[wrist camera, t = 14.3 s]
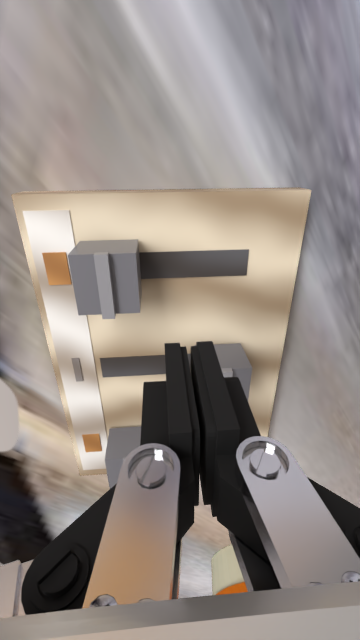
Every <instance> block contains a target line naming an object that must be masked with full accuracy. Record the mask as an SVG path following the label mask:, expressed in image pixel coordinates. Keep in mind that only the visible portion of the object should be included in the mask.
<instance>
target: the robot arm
mask: <svg viewBox="0 0 360 640" xmlns="http://www.w3.org/2000/svg"><path fill="white" fill-rule="evenodd" d="M164 345H165V367H166V381H153V382H144V384H143V402H142V421H141V440H140V446H139V447H137V448H136V449H134V450H132V451H131V452H130V453H129V454H128V455H127V457H126V458H125V460H124V462H123V464H122V467H121V470H120V474H119V477H118V481H117V483H116V484H115V485H114V486H113V487H112V488H111V489H110V490H109V491H108V492H106V493H105V494H104V495H103V496H102V497H101V498H100V499H99V500H98V501H96V502H95V503H94V504H93V505H92V506H91V507H90V508H89V509H88V510H86V511H85V512H84V513H83V514H82V515H81V516H80V517H79V518H78V519H76V520H75V521H74V522H73V523H72V524H71V525H70V526H69V527H68V528H66V529H65V530H64V531H63V532H62V533H61V534H60V535H59V536H58V537H56V538H55V539H54V540H53V541H52V542H51V543H50V544H49V545H48V546H46V547H45V548H44V549H43V550H42V551H41V552H40V553H39V554H38V556H37V557H36V558H35V559H34V560H31V561H28V562H25V563H22V564H21V563H20V561H19V560H17V561H14V562H11V563H8V564H5V565H2V566H0V640H360V508H358V507H357V506H355V505H353V504H351V503H350V502H348V501H346V500H345V499H343V498H341V497H340V496H338V495H336V494H335V493H333V492H331V491H330V490H328V489H326V488H325V487H323V486H321V485H320V484H318V483H316V482H314V481H313V480H311V479H309V478H308V477H307V476H306V475H305V473H304V472H303V470H302V469H301V467H300V466H299V464H298V462H297V461H296V459H295V458H294V456H293V455H292V453H291V452H290V451H289V450H288V448H287V447H286V446H284V445H283V444H282V443H280V442H279V441H277V440H274V439H272V438H270V437H264V436H261V435H260V432H259V429H258V427H257V424H256V421H255V419H254V416H253V414H252V411H251V408H250V406H249V403H248V401H247V398H246V395H245V393H244V390H243V388H242V385H241V382H240V380H239V378H238V377H224V376H223V373H222V370H221V367H220V364H219V360H218V357H217V354H216V351H215V348H214V345H213V342H212V341H202V342H196V346H191V359H190V366H189V360H188V354H187V348H186V346H184V347H180V343H164ZM199 474H200V481H201V488H202V495H203V502H204V505H210V504H211V510H212V517H216V516H217V521H219V522H220V523H221V524H222V525H223V526H225V527H226V528H227V529H228V531H229V536H230V540H231V543H232V546H233V549H234V552H235V555H236V558H237V561H238V564H239V567H240V570H241V573H242V576H243V579H244V582H245V585H246V588H247V591H248V592H243V593H232V594H222V595H212V596H202V597H192V598H181V599H178V595H179V579H180V564H181V549H182V537H183V536H184V535H185V533H186V532H187V531H188V530H189V528H190V527H191V526H192V525H193V523H194V506H198V505H199Z"/></svg>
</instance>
